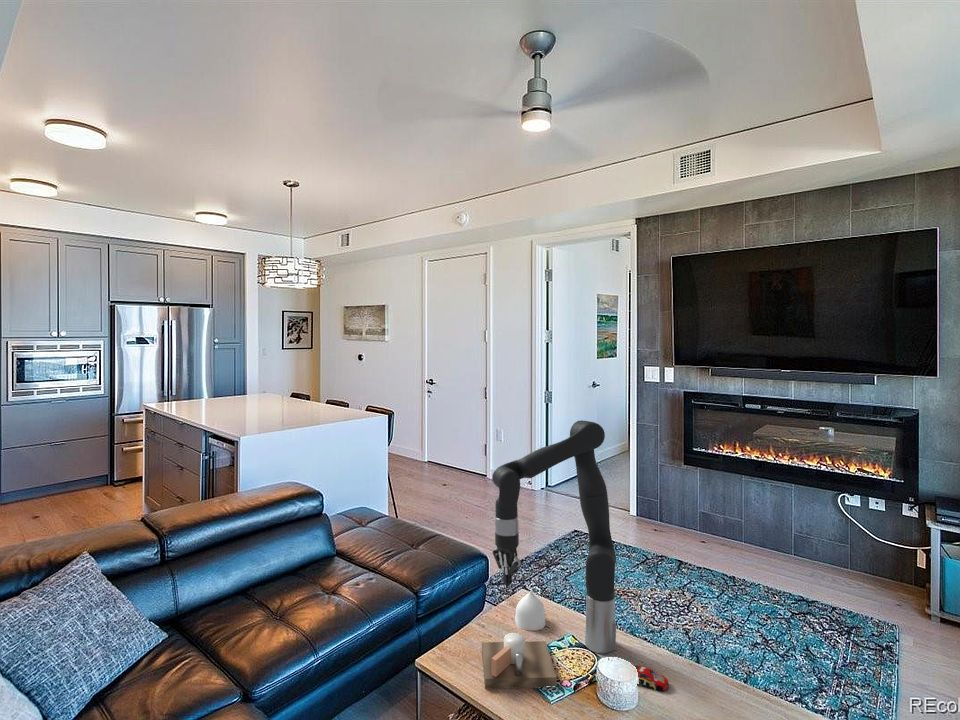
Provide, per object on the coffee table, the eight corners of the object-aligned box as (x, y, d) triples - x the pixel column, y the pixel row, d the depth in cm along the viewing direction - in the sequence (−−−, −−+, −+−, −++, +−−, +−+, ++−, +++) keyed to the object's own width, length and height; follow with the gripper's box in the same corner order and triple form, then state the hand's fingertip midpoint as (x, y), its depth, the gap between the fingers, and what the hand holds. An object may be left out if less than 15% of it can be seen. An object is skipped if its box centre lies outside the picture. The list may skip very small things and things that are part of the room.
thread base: (545, 650, 168) (546, 623, 167) (556, 687, 150) (557, 657, 150) (481, 651, 167) (482, 624, 166) (485, 688, 149) (485, 658, 148)
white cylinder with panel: (511, 648, 163) (511, 630, 162) (528, 656, 159) (528, 637, 159) (484, 671, 151) (485, 651, 151) (502, 680, 147) (502, 660, 147)
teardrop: (547, 616, 189) (547, 584, 188) (543, 632, 178) (544, 599, 178) (517, 612, 191) (518, 580, 191) (512, 628, 181) (513, 595, 180)
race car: (669, 684, 152) (670, 671, 152) (668, 695, 147) (668, 682, 147) (624, 671, 158) (625, 658, 158) (621, 681, 153) (621, 668, 153)
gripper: (485, 527, 166) (485, 580, 166) (510, 539, 155) (511, 595, 155) (503, 522, 170) (504, 573, 170) (529, 533, 159) (530, 588, 160)
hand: (507, 584), depth 163 cm, fingers closed
